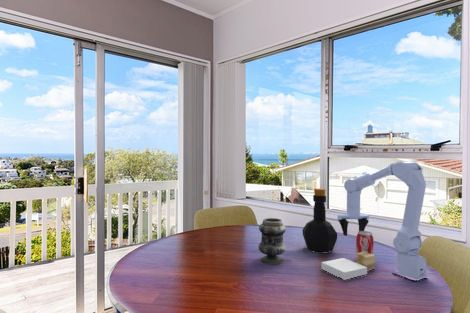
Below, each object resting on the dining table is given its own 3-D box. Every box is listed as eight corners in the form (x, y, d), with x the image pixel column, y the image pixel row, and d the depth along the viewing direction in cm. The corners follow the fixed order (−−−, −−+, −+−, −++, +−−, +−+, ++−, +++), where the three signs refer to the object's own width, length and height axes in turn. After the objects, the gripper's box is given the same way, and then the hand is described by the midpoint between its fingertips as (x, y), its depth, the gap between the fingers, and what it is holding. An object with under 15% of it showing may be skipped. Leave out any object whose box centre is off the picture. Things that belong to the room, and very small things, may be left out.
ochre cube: (374, 269, 122) (374, 255, 122) (366, 272, 119) (366, 256, 119) (364, 265, 126) (364, 251, 126) (356, 267, 124) (356, 253, 124)
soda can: (355, 260, 132) (355, 233, 132) (356, 255, 139) (357, 229, 138) (372, 263, 129) (373, 236, 129) (373, 258, 135) (374, 231, 135)
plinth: (367, 275, 116) (367, 267, 116) (344, 280, 111) (344, 272, 111) (343, 265, 127) (343, 257, 127) (321, 269, 121) (321, 262, 121)
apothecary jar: (285, 266, 125) (285, 223, 125) (256, 264, 127) (256, 221, 127) (286, 256, 137) (286, 217, 137) (259, 255, 139) (260, 216, 139)
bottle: (313, 256, 138) (313, 191, 138) (296, 246, 154) (297, 187, 154) (343, 253, 142) (343, 190, 142) (324, 243, 158) (324, 187, 158)
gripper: (363, 203, 142) (362, 232, 142) (334, 204, 140) (334, 233, 140) (372, 206, 135) (371, 236, 135) (342, 206, 133) (341, 237, 133)
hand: (353, 234), depth 137 cm, fingers open, 7 cm apart
